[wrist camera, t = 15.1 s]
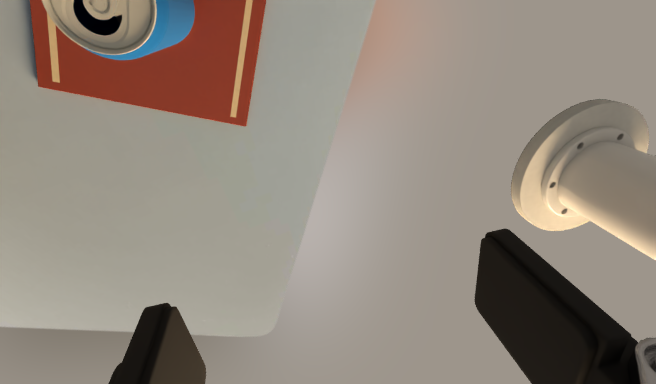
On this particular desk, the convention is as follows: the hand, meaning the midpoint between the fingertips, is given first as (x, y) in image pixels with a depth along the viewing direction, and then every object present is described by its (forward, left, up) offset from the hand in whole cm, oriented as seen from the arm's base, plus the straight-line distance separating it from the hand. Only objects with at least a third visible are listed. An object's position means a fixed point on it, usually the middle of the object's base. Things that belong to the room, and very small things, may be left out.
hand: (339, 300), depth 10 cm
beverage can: (+9, -10, -28) cm, 31 cm away
